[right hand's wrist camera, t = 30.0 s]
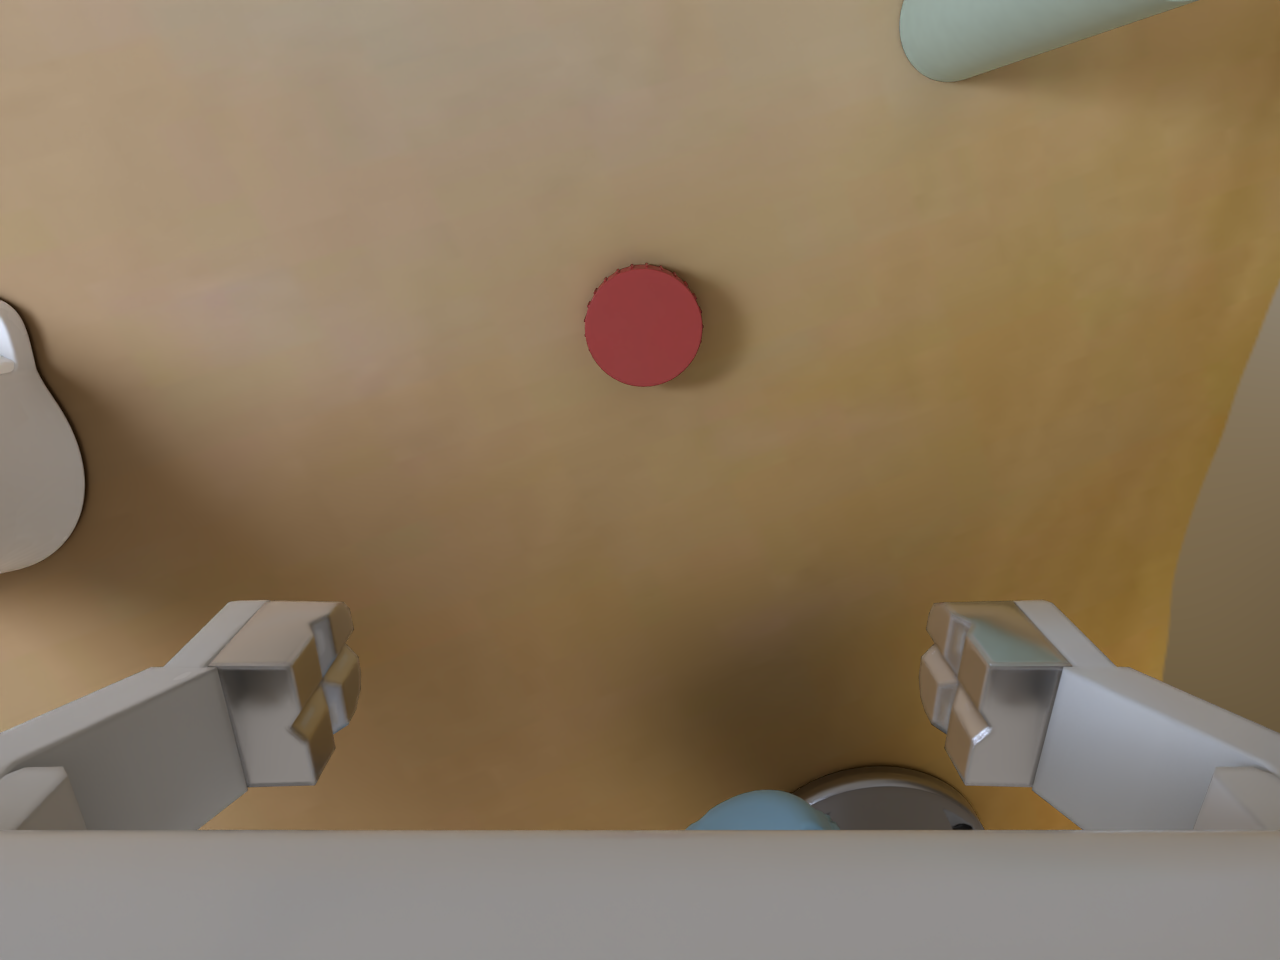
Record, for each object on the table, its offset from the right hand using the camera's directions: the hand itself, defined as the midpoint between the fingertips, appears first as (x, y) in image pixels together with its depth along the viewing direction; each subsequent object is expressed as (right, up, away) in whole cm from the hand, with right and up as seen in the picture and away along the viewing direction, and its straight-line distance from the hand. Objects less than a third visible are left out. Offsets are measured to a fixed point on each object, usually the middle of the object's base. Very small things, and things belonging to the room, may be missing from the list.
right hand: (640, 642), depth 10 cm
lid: (0, +9, +24) cm, 26 cm away
